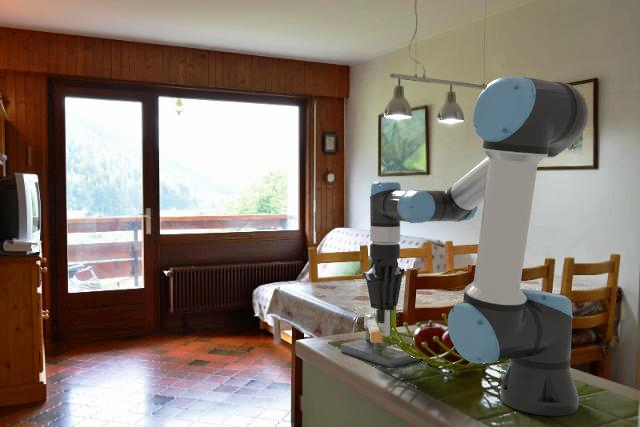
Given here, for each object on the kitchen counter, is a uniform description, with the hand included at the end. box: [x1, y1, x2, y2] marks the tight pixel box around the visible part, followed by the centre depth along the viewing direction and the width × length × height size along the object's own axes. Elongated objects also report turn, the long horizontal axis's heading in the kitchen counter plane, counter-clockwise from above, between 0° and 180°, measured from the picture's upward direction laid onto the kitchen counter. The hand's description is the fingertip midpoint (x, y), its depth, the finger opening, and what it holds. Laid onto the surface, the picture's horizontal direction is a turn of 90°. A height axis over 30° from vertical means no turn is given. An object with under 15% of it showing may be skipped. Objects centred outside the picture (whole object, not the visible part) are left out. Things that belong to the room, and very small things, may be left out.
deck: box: [340, 329, 419, 369], centre depth 154 cm, size 18×12×5 cm, turn 40°
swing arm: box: [363, 313, 383, 343], centre depth 153 cm, size 20×3×4 cm, turn 0°
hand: (383, 335), depth 150 cm, fingers closed
